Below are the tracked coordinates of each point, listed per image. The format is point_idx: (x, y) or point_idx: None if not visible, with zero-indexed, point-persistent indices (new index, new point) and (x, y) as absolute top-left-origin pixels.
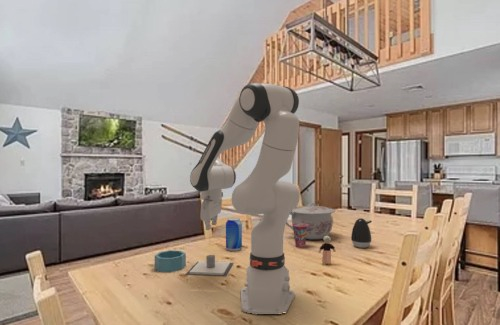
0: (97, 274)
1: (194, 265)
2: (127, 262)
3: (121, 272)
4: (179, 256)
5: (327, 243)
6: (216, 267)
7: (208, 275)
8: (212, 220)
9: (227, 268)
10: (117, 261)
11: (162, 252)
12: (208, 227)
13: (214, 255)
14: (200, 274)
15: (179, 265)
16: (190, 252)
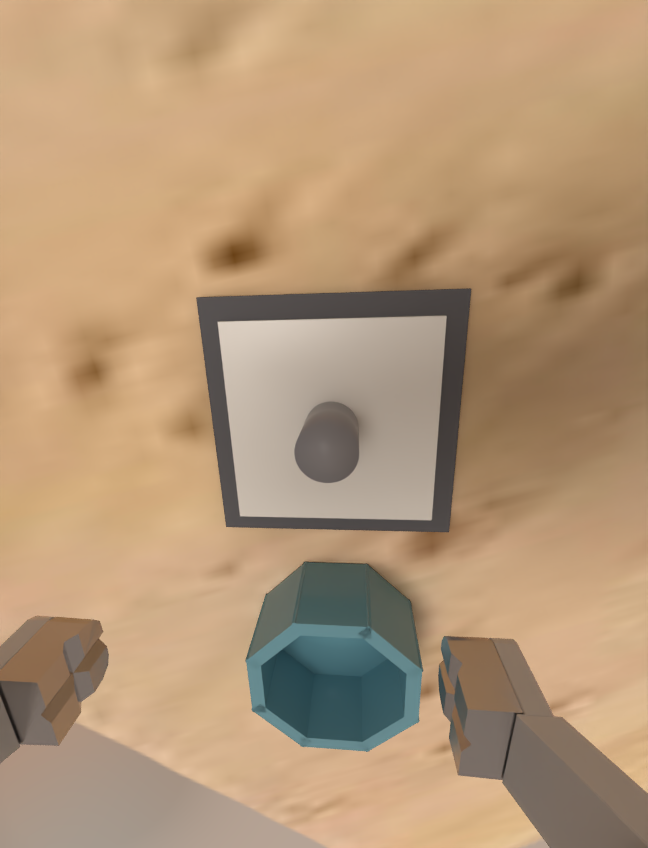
0: (441, 824)
1: (294, 525)
2: (290, 785)
3: (413, 768)
4: (371, 637)
5: None
6: (341, 388)
7: (455, 406)
8: (14, 749)
9: (315, 317)
10: (285, 816)
11: (302, 733)
12: (530, 698)
13: (306, 430)
14: (440, 455)
15: (377, 594)
16: (71, 600)
